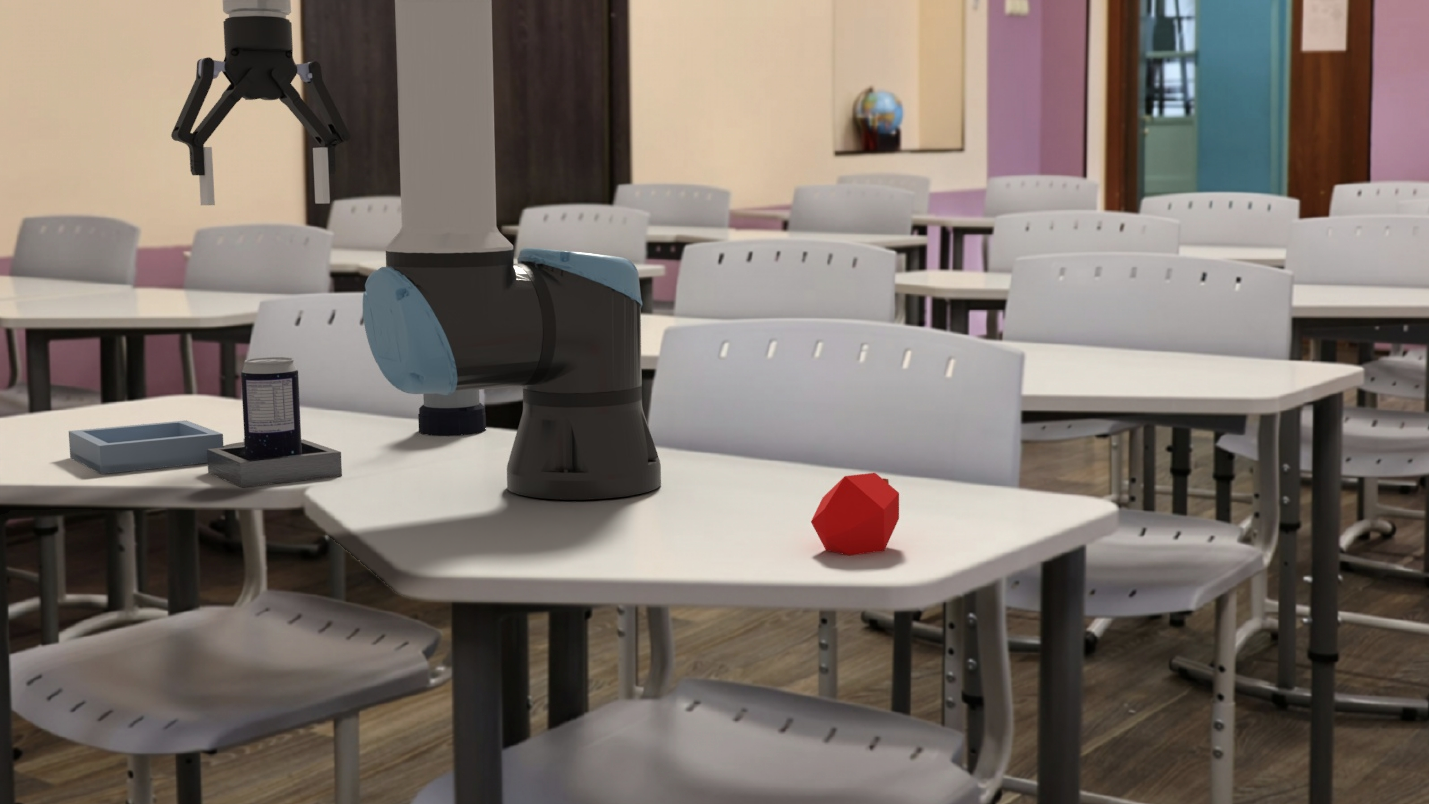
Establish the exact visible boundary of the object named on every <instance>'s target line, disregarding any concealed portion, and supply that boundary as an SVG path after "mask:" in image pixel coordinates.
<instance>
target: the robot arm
mask: <svg viewBox="0 0 1429 804" xmlns="http://www.w3.org/2000/svg"><path fill="white" fill-rule="evenodd" d="M492 5H493V3H492V0H394V9H395V10H394V11H395V12H394V14H395V42H396V45H395V46H396V74H397V76H396V77H397V79H396V80H397V111H398V143H399V144H398V146H399V150H398V151H399V173H400V174H399V175H400V176H399V177H400V178H399V179H400V180H399V181H400V182H399V183H400V209H401V210H400V213H401V215H400V216H401V228H400V229H399V232H398V233H397V234H395V236H394V237H393V238H392V239H391V240H390V242H389V243H388V244H387V245H385V266H381V267H380V268H377V269H376V270H374V271H372V272H371V273H370V274H369V276H368V277H367V279H366V282H365V284H364V288H365V291H364V292H363V295H362V317H363V318H362V319H363V323H364V329H365V330H364V331H365V335H366V338H367V343H368V345H369V348H370V352H371V354H372V356H373V357H372V358H374V361H375V363H376V364H377V366H378V368H379V371H381V373H382V375H383V376H384V378H385V379H386V380H387V381H388V382H389V383H390V384H391V386H393V387H394V388H396V389H397V390H399V391H401V392H403V393H406V394H410V395H423V394H434V393H437V394H441V395H450V394H451V393H453V392H458V391H470V390H479V391H481V390H491V389H502V388H504V389H505V388H514V387H522V414H521V417H520V420H519V425H518V427H517V430H516V434H515V437H514V440H513V444H512V447H511V451H510V455H509V457H508V458H509V459H508V461H507V465H506V486H507V487H506V489H507V490H508V491H509V492H511V493H514V494H517V495H520V496H522V497H523V496H525V497H529V498H537V499H545V500H547V499H549V500H567V501H568V500H572V501H574V500H578V501H579V500H581V501H582V500H602V499H614V498H615V499H616V498H623V497H629V496H630V497H631V496H635V495H636V496H637V495H639V494H644V493H648V492H652V491H654V490H657V489H658V488H660V487H661V485H662V467H661V466H662V465H661V460H660V457H659V455H658V451H657V448H656V445H655V442H654V440H653V437H652V433H651V431H650V428H649V425H648V422H647V419H646V416H645V412H644V409H643V395H642V394H643V392H642V391H643V389H642V387H643V386H642V384H643V383H642V382H643V381H642V380H643V379H642V323H641V322H642V318H641V317H642V316H641V314H642V313H641V310H642V307H643V300H642V294H641V286H640V276H639V275H640V274H639V271H638V269H637V266H636V265H635V263H634V262H632V261H631V260H629V259H627V258H625V257H621V256H614V255H606V254H598V253H590V252H589V253H588V252H581V251H580V252H579V251H566V250H561V249H560V250H557V249H547V248H546V249H544V248H534V247H525V248H522V249H520V251H519V254H518V257H517V258H516V261H517V263H514V261H515V260H514V245H513V244H512V243H511V242H510V241H509V239H507V237H505V236H504V235H503V234H502V233H501V232H500V231H499V229H498V226H497V194H496V193H497V192H496V191H497V189H496V187H497V186H496V151H495V150H496V149H495V146H496V145H495V144H496V142H495V139H496V137H495V106H494V105H495V103H494V62H493V61H494V52H493V8H492ZM222 11H223V13H224V14H225V15H228V17H227V18H225V19H224V21H223V38H224V39H223V40H224V41H223V42H224V53H225V54H224V58H223V61H221V60H214V59H213V58H212V57H210V56H209V57H204V58H200V59H198V60H197V62H196V70H195V71H196V72H195V73H196V75H195V76H196V77H195V80H194V82H193V85H192V86H191V89H190V91H189V94H188V96H187V98H186V100H185V102H184V104H183V107H182V110H181V112H180V113H179V115H178V118H177V121H176V122H175V125H174V127H173V128H172V131H171V135H170V136H171V139H173V141H176V142H180V143H183V144H184V145H186V146H187V147H188V150H189V166H190V170H189V171H190V173H191V175H192V176H198V179H199V197H200V199H199V201H200V206H215V205H216V204H215V203H216V201H215V185H214V184H215V183H214V180H215V179H214V163H213V148H212V146H205V144H206V142H207V141H208V140H209V139H210V137H211V136H212V135H213V134H214V132H215V131H216V129H217V128H218V127H219V126H220V124H221V123H223V121H224V120H225V118H226V117H227V116H228V114H229V113H230V112H231V110H233V108H234V107H235V105H236V104H237V103H238V102H239V101H240V100H241V99H244V100H245V101H253V100H254V101H255V100H258V99H260V100H262V101H275V100H279V101H280V102H281V103H282V104H284V106H286V107H287V108H288V110H289V111H290V112H291V113H292V114H293V115H294V117H295V118H296V119H297V120H298V121H299V123H300V124H301V125H302V127H304V128H305V130H306V132H308V133H309V134H310V136H311V137H312V138H313V139H314V140H315V141H316V143H317V144H318V145H319V146H320V147H313V148H312V155H313V156H312V157H313V158H312V159H313V178H314V179H313V181H314V182H313V183H314V184H313V185H314V202H315V203H314V204H330V203H331V202H330V201H331V197H330V178H329V177H330V176H331V175H335V174H336V169H337V168H336V147H337V146H338V145H339V144H343V143H345V142H348V141H350V139H351V134H350V131H349V129H348V128H347V126H346V124H345V122H344V120H343V118H342V116H341V113H340V112H339V110H338V108H337V106H336V103H335V102H334V100H333V98H332V96H331V94H330V93H329V90H328V88H327V86H326V84H325V82H324V80H323V75H322V68H321V64H320V62H318V61H316V60H315V61H314V60H313V61H308V62H305V63H297V64H296V62H295V60H294V56H293V50H294V48H293V27H292V26H293V24H292V22H291V20H290V19H288V18H287V16H289V15H290V14H291V13H292V1H291V0H222ZM221 72H222V74H223V75H224V77H225V78H226V79H227V80H228V82H229V85H228V86H227V87H226V89H224V91H223V93H222V95H220V98H219V99H218V100H217V101H216V103H215V104H214V106H213V107H212V108H211V109H210V110H209V111H208V113H207V114H206V115H205V117H204V118H203V119H202V120H201V122H199V124H198V126H197V127H196V128H195V129H194V130H193V132H191V131H192V129H193V127H194V125H195V123H196V121H197V118H198V116H199V114H200V111H201V109H202V107H203V104H204V102H205V100H206V98H207V96H208V93H209V91H210V89H211V86H212V84H213V80H214V79H215V80H216V79H217V78H218V77H219V75H220V73H221ZM297 75H298V76H299V78H300V80H301V81H302V82H305V85H306V88H307V90H308V92H309V94H310V97H311V98H312V100H313V101H314V104H315V106H316V108H317V109H318V111H319V113H320V115H321V117H322V119H323V121H324V123H325V125H326V126H325V125H324V124H323V122H322V121H321V120H320V118H319V117H318V116H317V115H316V114H315V113H314V111H313V110H312V109H311V108H310V106H308V104H307V103H306V102H305V101H304V100H303V98H302V97H301V94H300V93H299V91H298V90H297V89H296V88H295V87H294V85H293V84H292V83H293V81H294V79H295V77H296V76H297ZM329 175H330V176H329Z"/></svg>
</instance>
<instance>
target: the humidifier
mask: <svg viewBox="0 0 1429 804" xmlns="http://www.w3.org/2000/svg"><path fill="white" fill-rule="evenodd" d="M422 395H423V403H422V405H421V406H419V408H418V414H417V415H418V417H417V419H418V434H421V435H427V436H433V437H435V436H436V437H437V436H438V437H453V436H454V437H456V436H459V437H460V436H467V435H468V436H469V435H476V434H480V433H484V432H486V431H487V416H486V415H487V414H486V409H485V408H486V407H485V405H484V404H482V403H481V401H480V390H470V391H458V392H453V393H451V394H450V395H441V394H437V393H434V394H422ZM485 428H486V429H485Z"/></svg>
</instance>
